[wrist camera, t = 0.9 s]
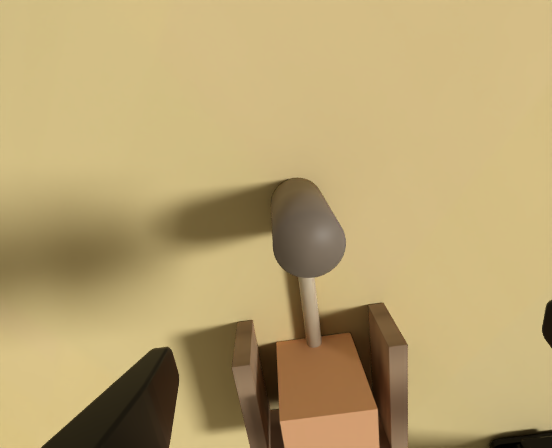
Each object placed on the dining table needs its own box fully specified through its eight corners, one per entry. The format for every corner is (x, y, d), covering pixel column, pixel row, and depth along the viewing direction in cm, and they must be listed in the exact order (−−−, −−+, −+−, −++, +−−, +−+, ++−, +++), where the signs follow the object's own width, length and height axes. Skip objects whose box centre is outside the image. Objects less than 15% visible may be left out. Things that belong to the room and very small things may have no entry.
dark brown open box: (386, 405, 25) (407, 459, 21) (258, 421, 25) (257, 477, 22) (383, 302, 22) (407, 344, 18) (237, 322, 22) (231, 367, 18)
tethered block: (354, 389, 24) (380, 475, 19) (285, 397, 25) (291, 486, 19) (338, 171, 19) (368, 202, 13) (249, 184, 19) (242, 219, 13)
